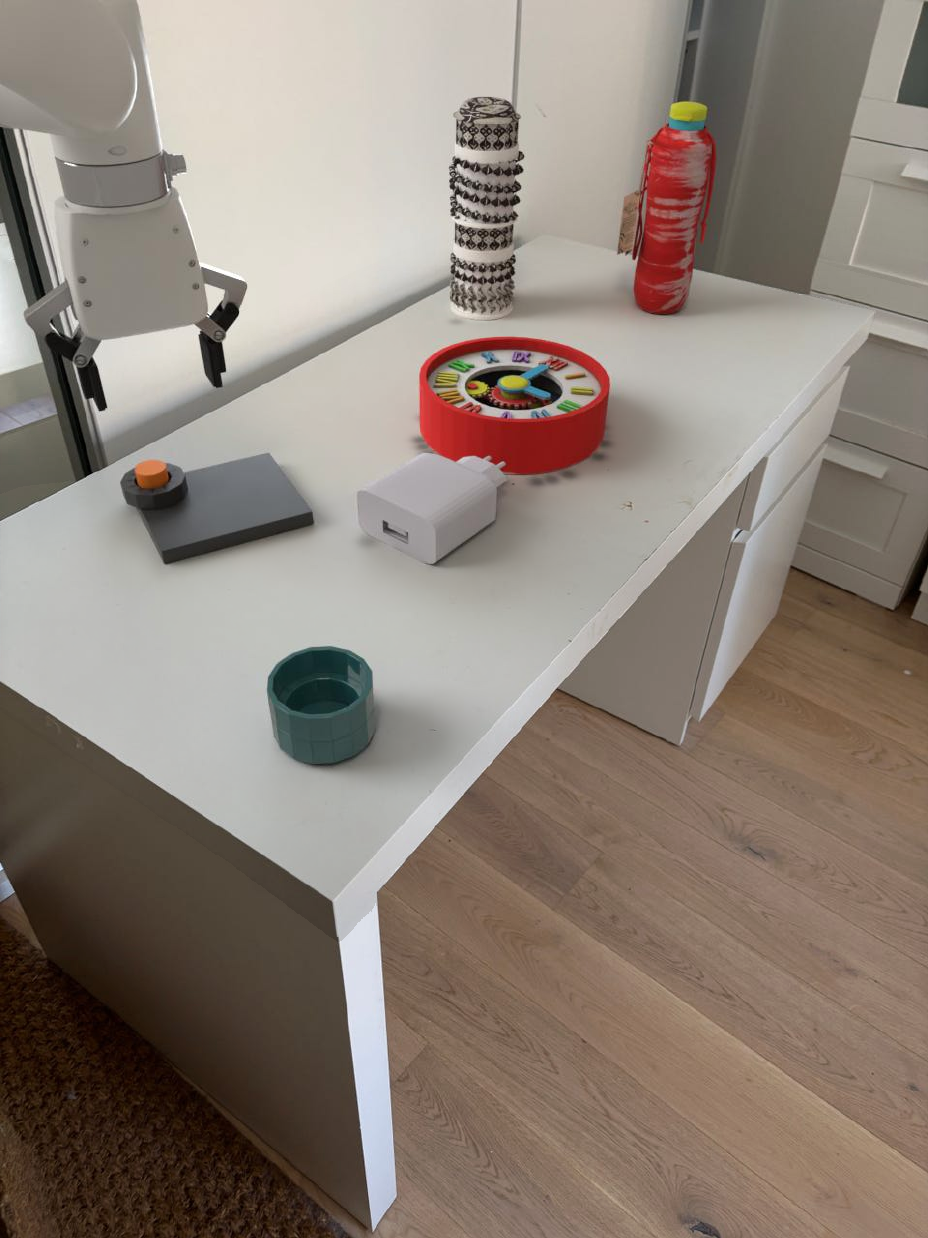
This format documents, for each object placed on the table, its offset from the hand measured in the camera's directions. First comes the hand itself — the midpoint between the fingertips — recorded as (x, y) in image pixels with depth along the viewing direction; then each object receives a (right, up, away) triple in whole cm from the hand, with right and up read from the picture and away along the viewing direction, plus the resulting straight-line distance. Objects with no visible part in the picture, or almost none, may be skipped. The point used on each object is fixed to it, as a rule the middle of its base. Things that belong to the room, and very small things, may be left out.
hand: (158, 392), depth 82 cm
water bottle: (+51, +24, +50) cm, 75 cm away
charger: (+24, -9, +10) cm, 28 cm away
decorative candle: (+28, +23, +48) cm, 60 cm away
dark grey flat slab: (+3, -9, +9) cm, 13 cm away
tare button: (-3, -6, +8) cm, 11 cm away
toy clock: (+31, +2, +23) cm, 39 cm away
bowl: (+16, -27, -12) cm, 34 cm away
